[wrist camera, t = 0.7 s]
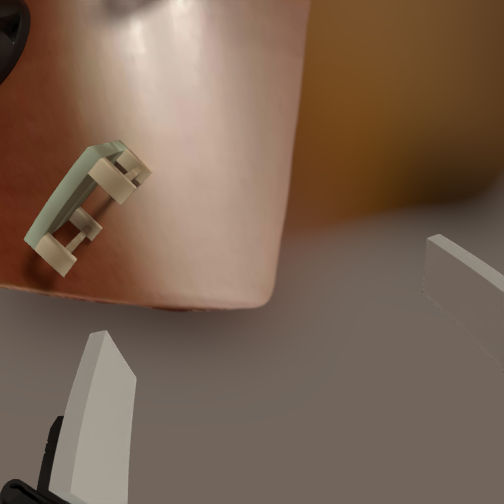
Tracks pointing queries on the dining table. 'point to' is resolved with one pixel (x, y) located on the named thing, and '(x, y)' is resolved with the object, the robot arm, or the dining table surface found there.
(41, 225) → the footstool
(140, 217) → the dining table surface
